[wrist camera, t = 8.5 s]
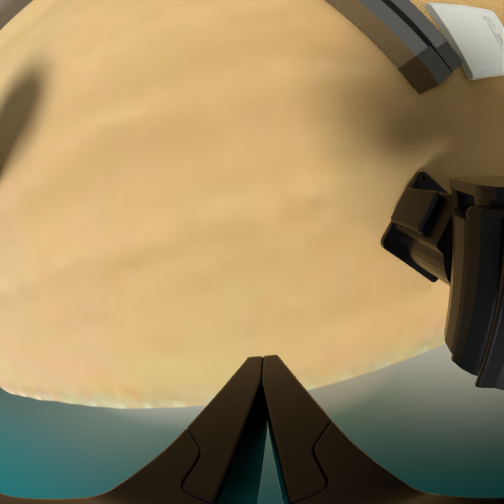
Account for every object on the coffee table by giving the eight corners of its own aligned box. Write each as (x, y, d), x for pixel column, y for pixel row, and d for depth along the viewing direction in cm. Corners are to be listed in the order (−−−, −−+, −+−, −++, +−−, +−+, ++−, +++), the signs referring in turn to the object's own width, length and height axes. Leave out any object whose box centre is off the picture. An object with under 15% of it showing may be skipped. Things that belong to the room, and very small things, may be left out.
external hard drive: (421, 8, 13) (486, 13, 11) (464, 82, 15) (519, 74, 13) (428, 1, 12) (493, 9, 10) (474, 78, 13) (527, 72, 12)
